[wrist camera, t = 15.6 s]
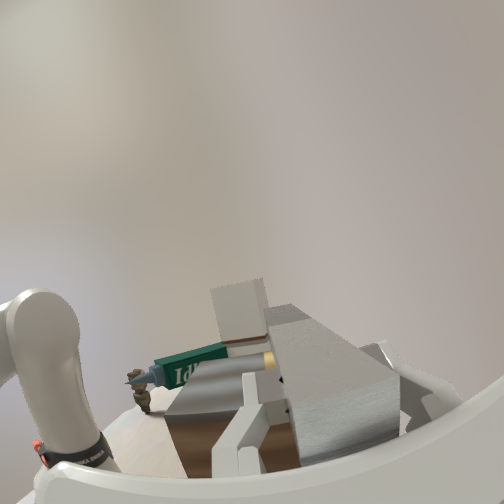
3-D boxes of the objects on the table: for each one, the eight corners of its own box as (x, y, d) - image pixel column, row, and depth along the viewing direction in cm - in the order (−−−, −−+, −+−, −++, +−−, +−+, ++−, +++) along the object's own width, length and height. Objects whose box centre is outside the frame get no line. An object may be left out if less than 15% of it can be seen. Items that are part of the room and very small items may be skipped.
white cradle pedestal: (287, 392, 73) (262, 277, 77) (281, 409, 63) (252, 280, 66) (250, 396, 76) (224, 286, 79) (240, 412, 66) (210, 288, 69)
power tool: (149, 449, 48) (123, 374, 50) (141, 437, 54) (117, 368, 55) (255, 407, 68) (241, 341, 70) (241, 401, 73) (227, 339, 75)
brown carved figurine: (156, 408, 73) (143, 366, 74) (156, 415, 68) (143, 370, 69) (139, 411, 71) (126, 368, 72) (139, 417, 66) (124, 373, 67)
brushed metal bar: (398, 443, 6) (399, 374, 6) (302, 473, 6) (292, 406, 6) (294, 326, 29) (290, 303, 29) (267, 331, 29) (262, 309, 29)
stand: (346, 545, 16) (340, 386, 18) (234, 561, 16) (162, 413, 18) (324, 480, 32) (304, 341, 34) (240, 494, 32) (200, 360, 34)
